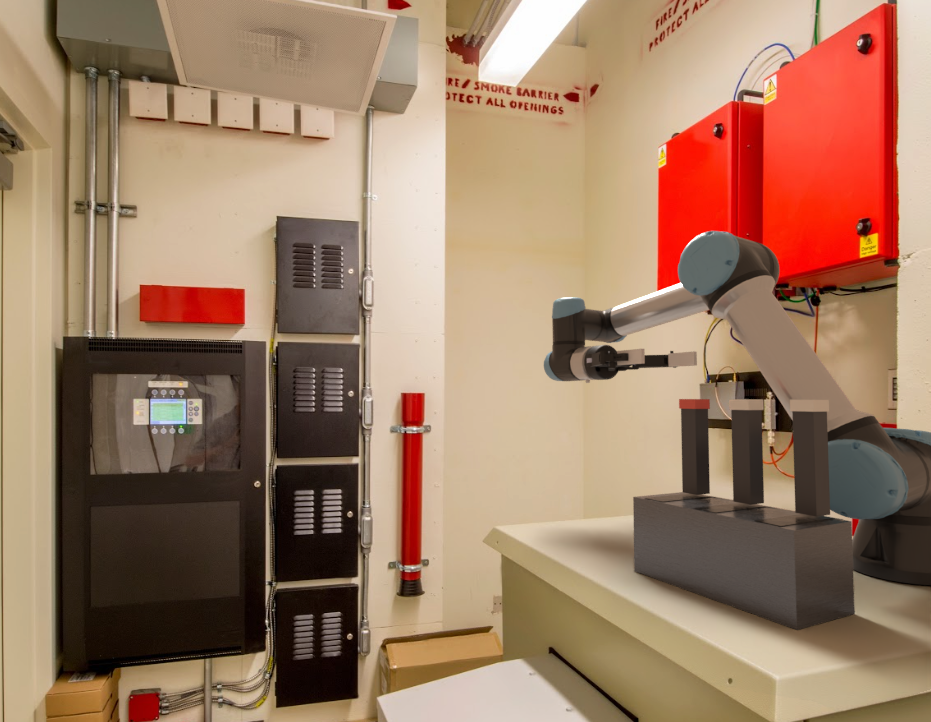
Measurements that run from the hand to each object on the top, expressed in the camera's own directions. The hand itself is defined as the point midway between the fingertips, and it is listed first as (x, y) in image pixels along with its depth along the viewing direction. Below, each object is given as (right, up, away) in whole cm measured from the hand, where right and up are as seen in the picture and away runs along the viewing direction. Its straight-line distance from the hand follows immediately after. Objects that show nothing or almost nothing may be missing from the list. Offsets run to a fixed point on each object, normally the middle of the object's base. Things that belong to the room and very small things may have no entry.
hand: (670, 357), depth 114 cm
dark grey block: (+1, -34, -25) cm, 43 cm away
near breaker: (+9, -22, -31) cm, 39 cm away
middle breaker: (+4, -22, -22) cm, 32 cm away
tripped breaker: (0, -23, -13) cm, 26 cm away
